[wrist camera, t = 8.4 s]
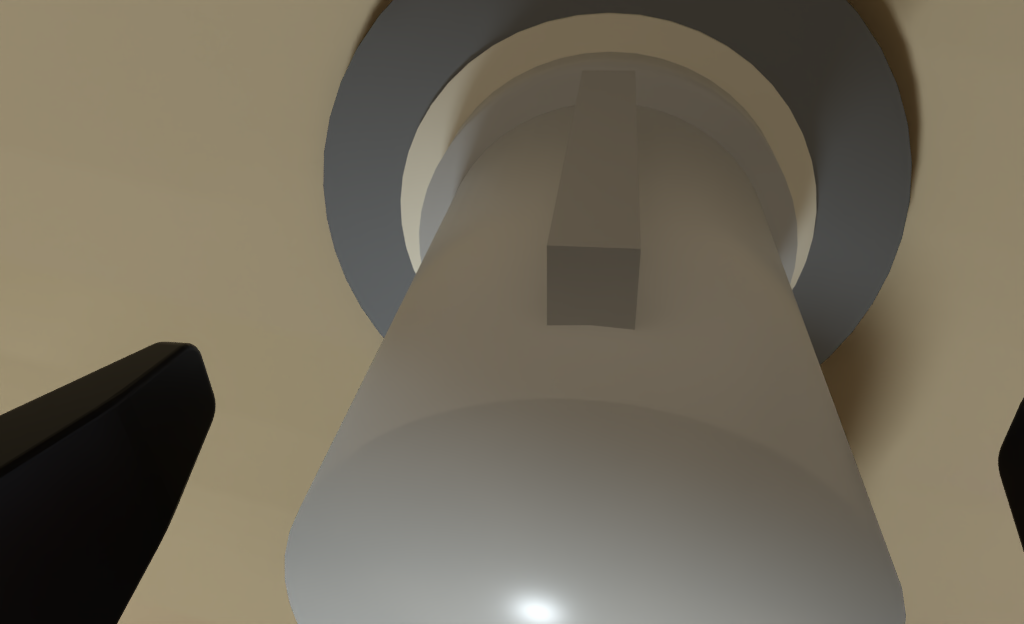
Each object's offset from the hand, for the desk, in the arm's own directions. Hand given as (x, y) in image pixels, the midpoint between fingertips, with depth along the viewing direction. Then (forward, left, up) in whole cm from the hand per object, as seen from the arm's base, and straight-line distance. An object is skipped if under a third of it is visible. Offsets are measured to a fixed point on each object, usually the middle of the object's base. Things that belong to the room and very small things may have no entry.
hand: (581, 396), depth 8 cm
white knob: (0, 0, -4) cm, 4 cm away
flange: (0, 0, -4) cm, 5 cm away
